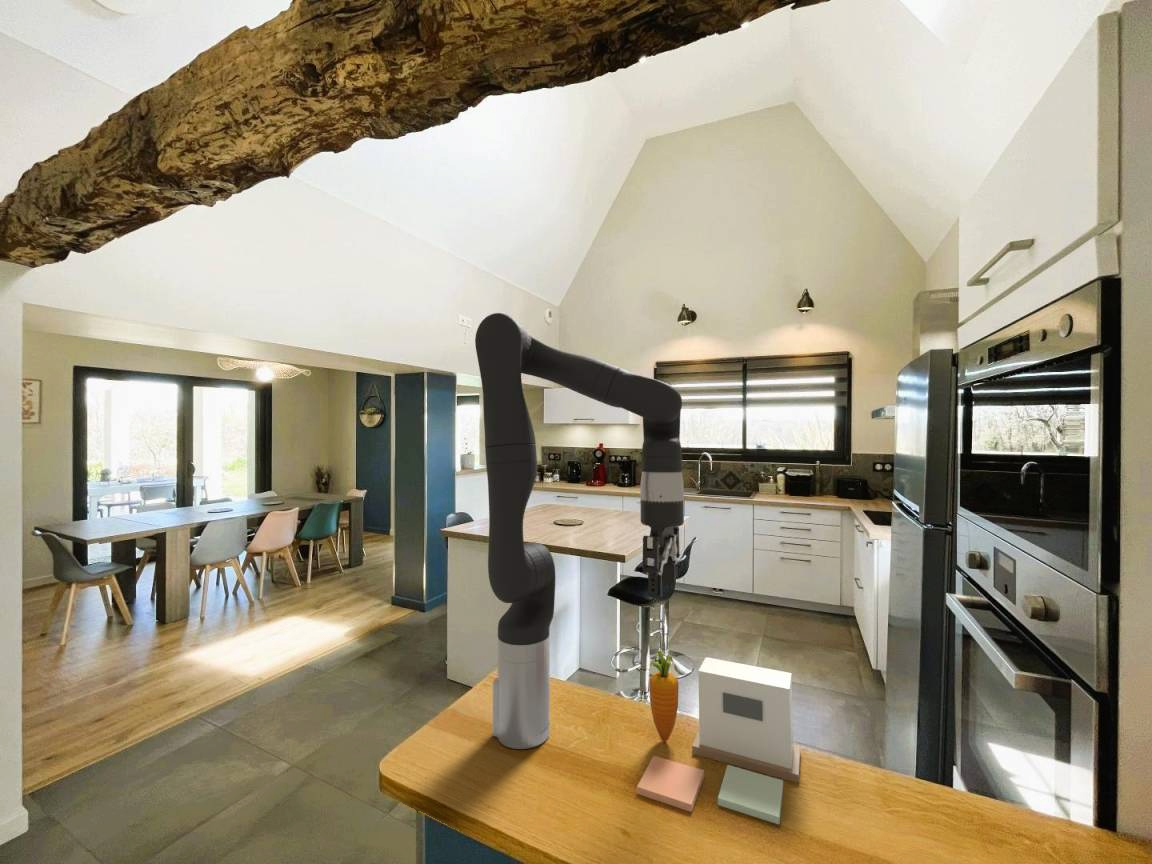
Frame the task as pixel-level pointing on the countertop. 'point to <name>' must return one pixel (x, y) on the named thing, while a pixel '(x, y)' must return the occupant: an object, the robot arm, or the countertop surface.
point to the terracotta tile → (671, 783)
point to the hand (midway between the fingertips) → (662, 590)
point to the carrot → (663, 697)
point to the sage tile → (751, 794)
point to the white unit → (747, 718)
